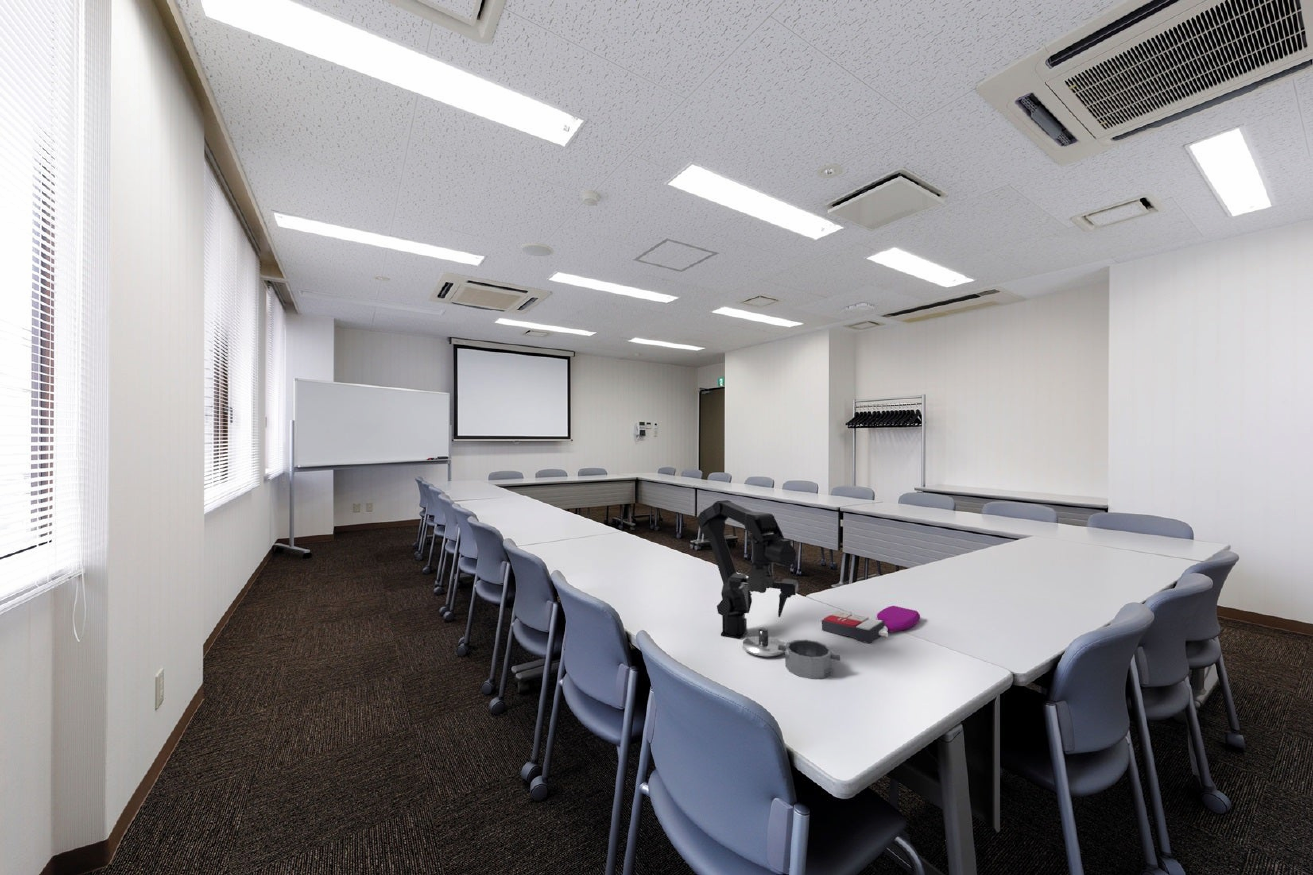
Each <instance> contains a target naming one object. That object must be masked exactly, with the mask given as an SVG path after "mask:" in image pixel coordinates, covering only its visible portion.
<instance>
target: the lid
mask: <svg viewBox="0 0 1313 875" xmlns="http://www.w3.org/2000/svg"><path fill="white" fill-rule="evenodd" d="M779 645H783V646H786V645H785V643H784V642H783V641H782V640H779V639H777V638H774V637H771V636H769V629H767V628H762V627H760V628H758V636H757V635H755V636H750V637H747V638H745V639H744V640H743V641H742V649H743V650H744V651H745V652H747V653H750V654H751V655H754V656H759V657H763V658H764V657H765V658H766V657H767V658H769V657H770V658H771V657H776V656H780V655H782V654H784V653H785V651H781V650H778V646H779Z"/></svg>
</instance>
